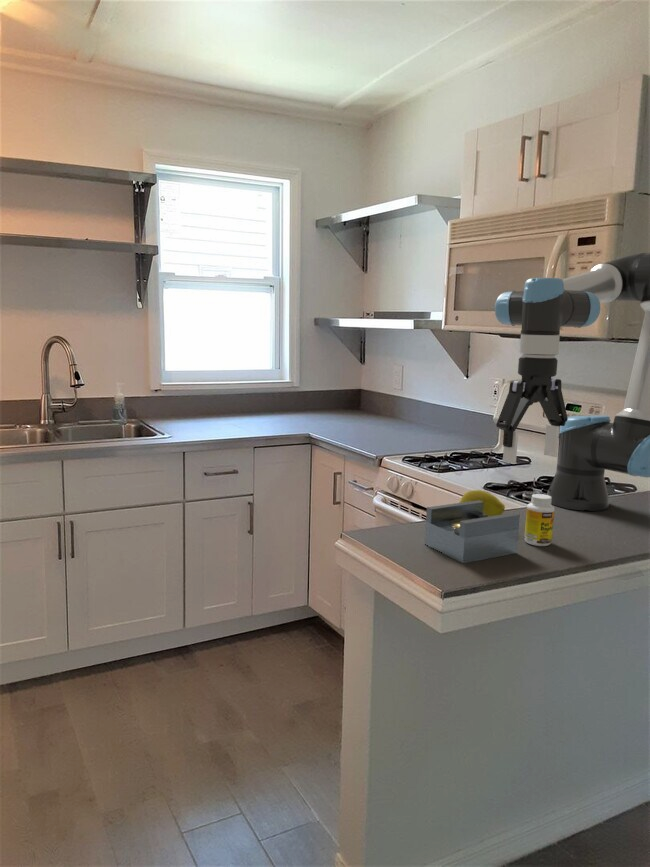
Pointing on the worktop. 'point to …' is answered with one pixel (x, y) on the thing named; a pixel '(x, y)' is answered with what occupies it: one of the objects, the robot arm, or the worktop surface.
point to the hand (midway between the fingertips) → (530, 459)
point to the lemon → (485, 502)
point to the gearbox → (470, 531)
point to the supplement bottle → (539, 520)
